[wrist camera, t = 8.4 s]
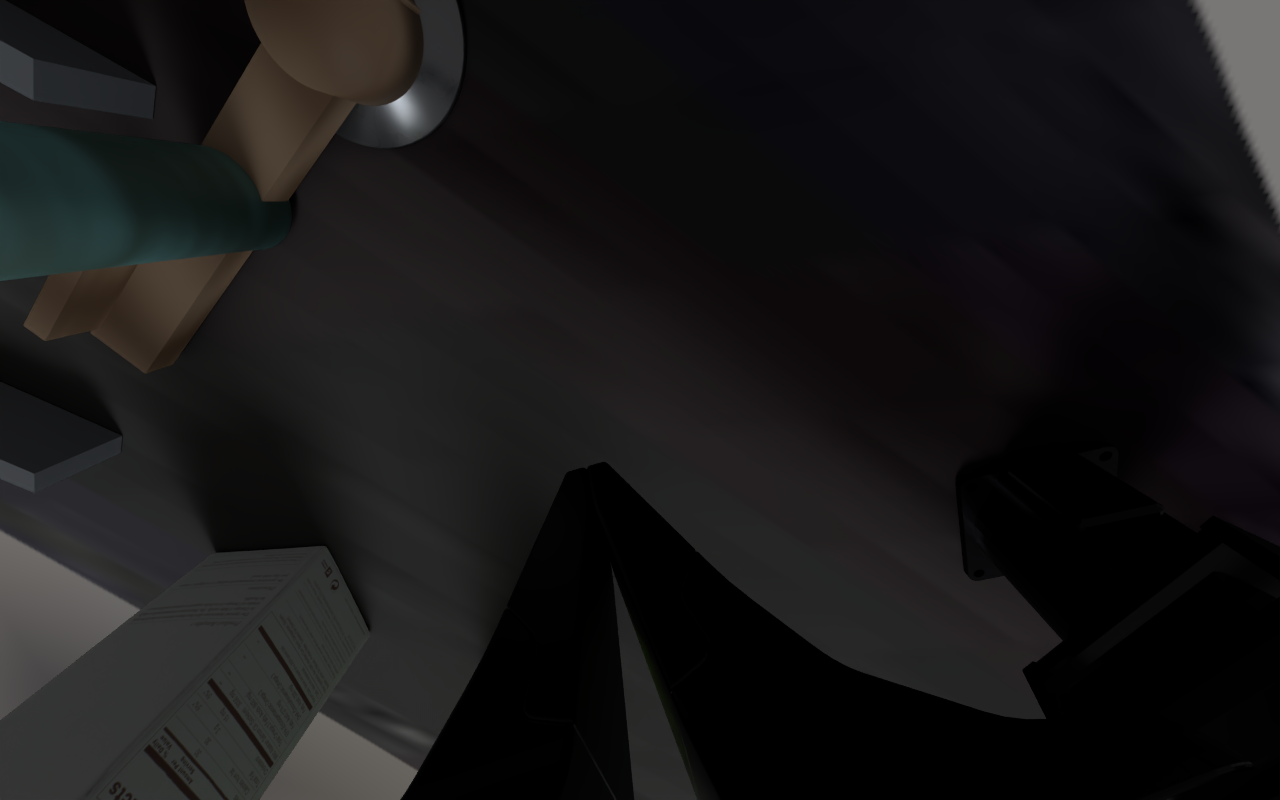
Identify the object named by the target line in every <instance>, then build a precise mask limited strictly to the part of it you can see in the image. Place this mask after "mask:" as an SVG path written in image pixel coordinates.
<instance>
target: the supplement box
mask: <svg viewBox="0 0 1280 800" xmlns="http://www.w3.org/2000/svg"><path fill="white" fill-rule="evenodd" d="M368 637H369V630H368V628H367V626H366V624H365V621H364V619H363V617H362V615H361V613H360V611H359V609H358V607H357V605H356V603H355V601H354V599H353V597H352V595H351V593H350V591H349V589H348V587H347V585H346V583H345V581H344V579H343V577H342V575H341V573H340V571H339V569H338V567H337V565H336V563H335V561H334V559H333V557H332V555H331V554H330V552H329V550H328V548H327V547H326V546H313V547H300V548H284V549H269V550H255V551H238V552H223V553H212V554H210V555H209V556H208V557H207V558H206V559H205V560H203V561H202V562H201V563H200V564H198V565H197V566H196V567H195V568H193V569H192V570H191V571H189V572H188V573H187V574H186V575H184V576H183V577H182V578H180V579H179V580H178V581H177V582H175V583H174V584H173V585H171V586H170V587H169V588H168V589H166V590H165V591H164V592H163V593H162V594H160V595H159V596H158V597H156V598H155V599H154V600H153V601H151V602H150V603H149V604H148V605H146V606H145V607H144V608H143V609H141V610H140V611H139V612H137V613H136V614H135V615H134V616H133V617H131V618H130V619H128V620H127V621H126V622H125V623H123V624H122V625H121V626H120V627H118V628H117V629H116V630H115V631H113V632H112V633H111V634H110V635H108V636H107V637H106V638H104V639H103V640H102V641H101V642H99V643H98V644H97V645H95V646H94V647H93V648H92V649H90V650H89V651H88V652H86V653H85V654H84V655H83V656H81V657H80V658H79V659H78V660H76V661H75V662H74V663H73V664H71V665H70V666H69V667H68V668H66V669H65V670H64V671H63V672H61V673H60V674H59V675H57V677H55V678H54V679H52V680H51V681H50V682H49V683H47V684H46V685H45V686H44V687H42V688H41V689H40V690H38V691H37V692H36V693H35V694H33V695H32V696H31V697H30V698H28V699H27V700H26V701H25V702H23V703H22V704H21V705H20V706H18V707H17V708H16V709H14V710H13V711H12V712H10V713H9V714H8V715H7V716H5V717H4V718H3V719H1V720H0V800H260V798H261V797H262V795H263V794H264V792H265V791H266V789H267V788H268V786H269V785H270V783H271V782H272V780H273V779H274V777H275V776H276V774H277V773H278V771H279V770H280V768H281V767H282V765H283V764H284V762H285V761H286V759H287V758H288V756H289V755H290V753H291V752H292V750H293V749H294V747H295V746H296V744H297V743H298V741H299V740H300V738H301V737H302V736H303V734H304V732H305V731H306V729H307V728H308V727H309V725H310V724H311V722H312V720H313V719H314V717H315V716H316V715H317V713H318V712H319V710H320V709H321V707H322V706H323V704H324V703H325V702H326V700H327V698H328V697H329V695H330V694H331V692H332V691H333V689H334V688H335V686H336V685H337V683H338V682H339V681H340V679H341V678H342V676H343V675H344V673H345V672H346V670H347V669H348V667H349V666H350V664H351V663H352V661H353V660H354V658H355V657H356V655H357V654H358V652H359V651H360V649H361V648H362V646H363V645H364V643H365V642H366V640H367V639H368Z"/></svg>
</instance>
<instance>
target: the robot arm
mask: <svg viewBox="0 0 1280 800" xmlns="http://www.w3.org/2000/svg"><path fill="white" fill-rule="evenodd" d="M1102 453H1103V454H1102ZM1118 456H1119V452H1118V449H1116V448H1115V447H1114V446H1112V445H1110V444H1108V443H1105V442H1098V443H1094V444H1090V445H1085V446H1081V447H1077V448H1073V449H1069V450H1064V451H1060V452H1056V453H1052V454H1048V455H1044V456H1039V457H1035V458H1031V459H1027V460H1023V461H1019V462H1014V463H1010V464H1006V465H1002V466H998V467H993V468H989V469H985V470H981V471H977V472H973V473H968V474H965V475H962V476H961V477H960V478H958V480H957V481H956V494H957V505H958V515H959V525H960V535H961V546H962V556H963V566H964V571H965V573H966V574H967V575H968V577H969V578H970V579H972V580H975V581H980V580H985V579H990V578H995V577H1000V576H1005V577H1006V578H1007V579H1008V580H1009V581H1010V583H1011V584H1012V585H1013V586H1014V587H1015V588H1016V589H1017V590H1018V591H1019V593H1020V594H1021V595H1022V596H1023V597H1024V598H1025V599H1026V600H1027V601H1028V603H1029V604H1030V605H1031V606H1032V607H1033V608H1034V609H1035V610H1036V611H1037V613H1038V614H1039V615H1040V616H1041V617H1042V618H1043V619H1044V620H1045V621H1046V623H1047V624H1048V625H1049V626H1050V627H1051V628H1052V629H1053V630H1054V631H1055V632H1056V634H1057V635H1058V636H1059V637H1060V638H1061V639H1062V640H1063V641H1062V642H1061V643H1060V644H1059V645H1057V646H1056V647H1055V648H1054V649H1052V650H1051V651H1050V652H1049V653H1047V654H1046V655H1045V656H1044V657H1042V658H1041V659H1040V660H1039V661H1037V662H1033V661H1032V662H1031V663H1030V664H1029V665H1028V666H1026V667H1025V668H1024V669H1023V673H1024V675H1025V677H1026V679H1027V681H1028V683H1029V685H1030V687H1031V689H1032V691H1033V693H1034V695H1035V697H1036V699H1037V701H1038V703H1039V705H1040V707H1041V709H1042V711H1043V713H1044V715H1045V717H1046V719H1020V718H1012V717H1004V716H1000V715H996V714H992V713H988V712H984V711H981V710H978V709H975V708H972V707H968V706H965V705H962V704H959V703H956V702H953V701H950V700H947V699H943V698H940V697H937V696H934V695H931V694H928V693H925V692H922V691H919V690H915V689H912V688H909V687H906V686H903V685H900V684H897V683H894V682H890V681H887V680H884V679H881V678H878V677H875V676H872V675H869V674H865V673H862V672H860V671H857V670H854V669H852V668H850V667H848V666H845V665H843V664H842V663H840V662H838V661H836V660H834V659H832V658H831V657H829V656H828V655H826V654H825V653H823V652H822V651H820V650H819V649H817V648H816V647H815V646H813V645H812V644H811V643H809V642H808V641H807V640H805V639H804V638H803V637H801V636H800V635H799V634H797V633H796V632H795V631H793V630H792V629H791V628H789V627H788V626H787V625H785V624H784V623H783V622H781V621H780V620H779V619H777V618H776V617H775V616H773V615H772V614H771V613H769V612H768V611H767V610H765V609H764V608H763V607H761V606H760V605H759V604H757V603H756V602H755V601H753V600H752V599H751V598H749V597H748V596H747V595H746V594H744V593H743V592H742V591H741V590H739V589H738V588H737V587H736V586H734V585H733V584H732V583H731V582H729V581H728V580H727V579H726V578H725V577H724V576H723V575H722V574H721V573H720V572H718V571H717V570H716V569H715V568H714V567H713V566H712V565H711V564H710V563H709V562H708V561H707V560H706V559H705V558H704V557H703V556H702V555H701V554H700V553H699V552H696V551H695V549H694V548H693V547H692V546H691V545H690V544H689V543H688V542H687V541H686V540H685V539H684V538H683V537H682V536H681V535H680V534H679V533H678V532H677V531H676V530H675V529H674V528H673V527H672V526H671V525H670V524H669V523H668V522H667V521H666V520H665V519H664V518H663V517H662V516H661V515H660V514H659V513H658V512H657V511H656V510H655V509H653V508H652V507H651V506H650V505H649V504H648V503H647V502H646V501H645V500H644V499H643V498H642V497H641V496H640V495H639V494H638V493H637V492H636V491H635V490H634V489H633V488H632V487H631V486H630V485H629V484H628V483H627V482H626V481H625V480H624V479H623V478H622V477H621V476H620V475H619V474H618V473H617V472H616V471H615V470H614V469H613V468H612V467H611V466H610V465H609V464H608V463H606V462H601V463H597V464H594V465H590V466H588V468H587V469H586V468H579V469H576V470H572V471H569V472H567V473H566V475H565V477H564V479H563V481H562V484H561V486H560V488H559V490H558V493H557V495H556V497H555V499H554V501H553V504H552V506H551V508H550V510H549V513H548V515H547V517H546V519H545V522H544V524H543V526H542V528H541V530H540V533H539V535H538V537H537V539H536V542H535V544H534V546H533V548H532V551H531V553H530V555H529V557H528V559H527V562H526V564H525V566H524V568H523V571H522V573H521V575H520V577H519V580H518V582H517V584H516V586H515V588H514V591H513V593H512V595H511V597H510V600H509V602H508V604H507V609H506V610H504V612H503V615H502V617H501V619H500V622H499V624H498V626H497V628H496V630H495V632H494V634H493V637H492V639H491V641H490V643H489V645H488V647H487V649H486V651H485V653H484V655H483V657H482V659H481V661H480V663H479V665H478V667H477V668H476V670H475V672H474V674H473V676H472V678H471V679H470V681H469V683H468V685H467V687H466V689H465V690H464V692H463V694H462V696H461V697H460V699H459V701H458V703H457V704H456V706H455V708H454V710H453V711H452V713H451V715H450V717H449V718H448V720H447V722H446V724H445V725H444V727H443V729H442V731H441V732H440V734H439V736H438V738H437V739H436V741H435V743H434V744H433V746H432V748H431V750H430V751H429V753H428V755H427V757H426V758H425V760H424V762H423V764H422V765H421V767H420V769H419V771H418V772H417V774H416V776H415V778H414V779H413V781H412V782H411V784H410V786H409V788H408V789H407V791H406V792H405V794H404V795H403V797H402V798H401V799H400V800H634V792H633V782H632V772H631V761H630V751H629V740H628V730H627V720H626V709H625V699H624V688H623V678H622V668H621V657H620V647H619V636H618V626H617V616H616V605H615V595H614V584H613V576H612V568H613V571H614V574H615V577H616V580H617V583H618V586H619V588H620V591H621V594H622V597H623V599H624V602H625V605H626V607H627V610H628V613H629V616H630V618H631V621H632V624H633V626H634V629H635V632H636V635H637V637H638V640H639V643H640V645H641V648H642V651H643V654H644V656H645V659H646V662H647V664H648V667H649V670H650V673H651V675H652V678H653V681H654V683H655V686H656V689H657V691H658V694H659V697H660V700H661V702H662V705H663V708H664V710H665V713H666V716H667V719H668V721H669V724H670V727H671V729H672V732H673V735H674V738H675V740H676V743H677V746H678V748H679V751H680V754H681V757H682V759H683V762H684V765H685V767H686V770H687V773H688V776H689V778H690V781H691V784H692V786H693V789H694V792H695V795H696V797H697V800H1280V546H1278V545H1276V544H1274V543H1271V542H1269V541H1267V540H1265V539H1263V538H1261V537H1258V536H1256V535H1254V534H1252V533H1250V532H1248V531H1246V530H1243V529H1241V528H1239V527H1237V526H1235V525H1233V524H1231V523H1228V522H1226V521H1224V520H1222V519H1220V518H1218V517H1216V516H1212V517H1211V518H1210V519H1208V520H1207V521H1206V522H1205V523H1203V524H1202V525H1201V526H1200V528H1201V529H1202V530H1201V531H1199V532H1198V533H1196V532H1195V531H1193V530H1192V529H1190V528H1188V527H1187V526H1185V525H1184V524H1182V523H1180V522H1179V521H1177V520H1176V519H1174V518H1172V517H1171V516H1169V515H1168V514H1166V513H1164V507H1163V506H1162V505H1161V504H1159V503H1158V502H1156V501H1154V500H1153V499H1151V498H1150V497H1148V496H1146V495H1145V494H1143V493H1141V492H1140V491H1138V490H1136V489H1135V488H1133V487H1132V486H1130V485H1128V484H1127V483H1125V482H1123V481H1122V480H1120V479H1119V478H1117V471H1118ZM971 483H972V484H971ZM969 484H971V485H970V486H968V485H969ZM967 486H968V487H967ZM610 562H611V563H610ZM611 565H612V568H611Z"/></svg>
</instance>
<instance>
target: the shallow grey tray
mask: <svg viewBox="0 0 1280 800" xmlns="http://www.w3.org/2000/svg"><path fill="white" fill-rule="evenodd" d="M0 82H1V83H2V84H4V85H6V86H8V87H10V88H12V89H13V90H15V91H17V92H19V93H21V94H23V95H25V96H26V97H28V98H30V99H32V100H34V101H41V102H47V103H53V104H60V105H66V106H72V107H78V108H85V109H91V110H97V111H104V112H110V113H116V114H123V115H129V116H135V117H142V118H148V119H153V111H154V100H155V90H156V86H155V85H153V84H151V83H149V82H148V81H146V80H144V79H142V78H141V77H139V76H137V75H135V74H134V73H132V72H130V71H128V70H127V69H125V68H123V67H121V66H120V65H118V64H116V63H114V62H113V61H111V60H109V59H107V58H106V57H104V56H102V55H100V54H99V53H97V52H95V51H93V50H92V49H90V48H88V47H86V46H85V45H83V44H81V43H79V42H78V41H76V40H74V39H73V38H71V37H69V36H67V35H66V34H64V33H62V32H60V31H59V30H57V29H55V28H53V27H52V26H50V25H48V24H46V23H45V22H43V21H41V20H39V19H38V18H36V17H34V16H32V15H31V14H29V13H27V12H25V11H24V10H22V9H20V8H18V7H17V6H15V5H13V4H11V3H10V2H8V1H6V0H0ZM121 445H122V435H119V434H117V433H115V432H113V431H110V430H108V429H106V428H104V427H101V426H99V425H97V424H95V423H92V422H90V421H88V420H86V419H83V418H81V417H79V416H77V415H75V414H72V413H70V412H68V411H66V410H63V409H61V408H59V407H57V406H54V405H52V404H50V403H48V402H45V401H43V400H41V399H39V398H36V397H34V396H32V395H30V394H27V393H25V392H23V391H21V390H18V389H16V388H14V387H12V386H9V385H7V384H5V383H3V382H0V479H2V480H5V481H7V482H9V483H12V484H14V485H17V486H19V487H21V488H24V489H26V490H29V491H31V492H34V493H35V492H37V491H40V490H42V489H44V488H46V487H48V486H50V485H53V484H55V483H57V482H59V481H61V480H63V479H66V478H68V477H70V476H72V475H74V474H76V473H78V472H81V471H83V470H85V469H87V468H89V467H91V466H94V465H96V464H98V463H100V462H102V461H104V460H107V459H109V458H111V457H113V456H115V455H117V454H120V453H121Z"/></svg>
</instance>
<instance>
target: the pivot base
mask: <svg viewBox="0 0 1280 800" xmlns="http://www.w3.org/2000/svg"><path fill="white" fill-rule="evenodd" d="M414 1H415V3H416V5H417V6H418V8H419V9H420V10H421V12H420V13H419V15H420V19H421V23H422V29H423V40H424V48H423V58H422V64H421V67H420V71H419V73H418V76H417V78H416V80H415V82H414V83H413V85H412V87H411V88H410V89H409V90H408V91H407V92H406V94H404V95H403V96H402V97H401V98H399V99H398V100H396V101H394V102H392V103H389V104H386V105H381V106H367V105H361V104H358V103H356V104H355V106H354V107H353V109H352V110H351V112H350V113H349V114H348V116H347V117H346V119H345V120H344V122H343V123H342V124H341V126H340V127H339V129H338V130H337V131H336V134H337V135H339V136H341V137H343V138H345V139H347V140H349V141H352V142H355V143H358V144H361V145H364V146H370V147H375V148H383V149H394V148H402V147H407V146H410V145H413V144H416V143H418V142H420V141H422V140H424V139H426V138H427V137H429V136H430V135H431V134H433V133H434V132H435V131H436V130H437V129H438V128H439V127H440V126H441V125H442V124H443V123H444V122H445V120H446V119H447V118H448V116H449V115H450V113H451V112H452V110H453V108H454V106H455V104H456V102H457V100H458V97H459V94H460V91H461V89H462V84H463V80H464V75H465V67H466V35H465V26H464V21H463V16H462V12H461V8H460V5H459V1H458V0H414Z"/></svg>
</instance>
